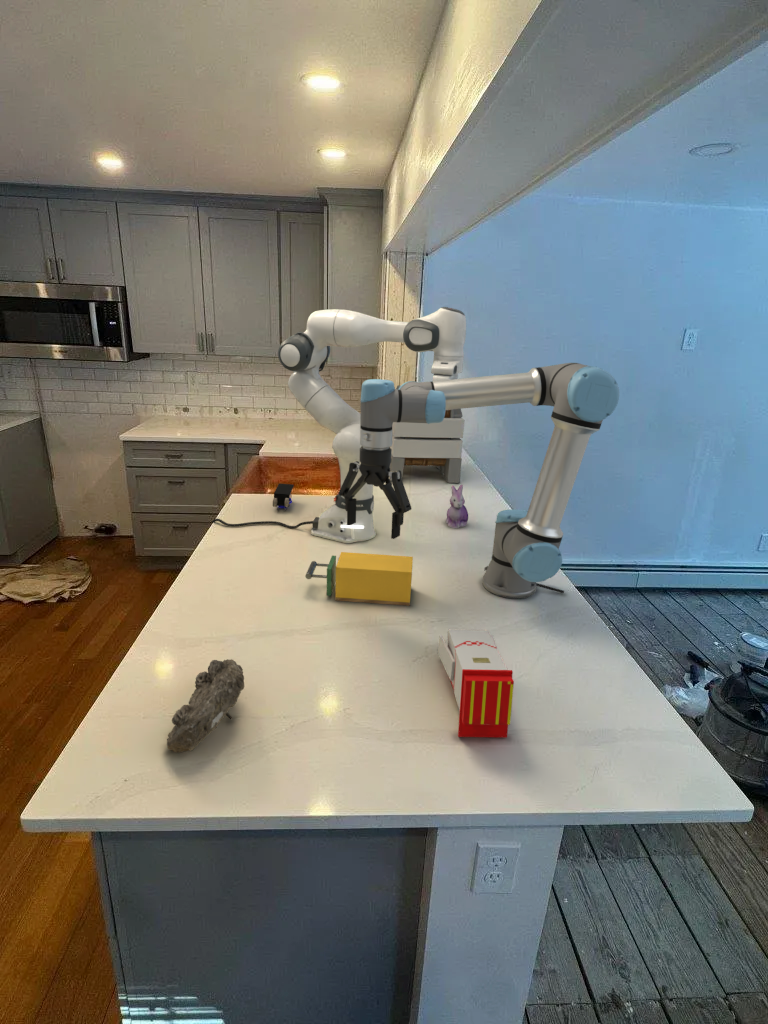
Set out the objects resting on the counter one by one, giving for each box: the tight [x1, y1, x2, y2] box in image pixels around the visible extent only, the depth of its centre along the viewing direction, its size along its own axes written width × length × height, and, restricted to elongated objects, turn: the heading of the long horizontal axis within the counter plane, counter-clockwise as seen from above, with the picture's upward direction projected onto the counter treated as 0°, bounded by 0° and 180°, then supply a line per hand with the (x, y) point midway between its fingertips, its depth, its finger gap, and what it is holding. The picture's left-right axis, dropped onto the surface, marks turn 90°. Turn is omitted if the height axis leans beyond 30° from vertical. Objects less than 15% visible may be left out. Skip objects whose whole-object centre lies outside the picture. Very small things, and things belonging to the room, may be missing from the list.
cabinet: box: [334, 551, 414, 607], centre depth 155 cm, size 20×10×10 cm, turn 86°
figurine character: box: [272, 483, 295, 512], centre depth 220 cm, size 7×8×15 cm
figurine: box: [445, 484, 469, 529], centre depth 209 cm, size 9×10×15 cm
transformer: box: [389, 384, 465, 484], centre depth 268 cm, size 34×33×41 cm
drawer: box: [304, 555, 337, 597], centre depth 156 cm, size 25×9×8 cm, turn 86°
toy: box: [437, 628, 515, 738], centre depth 117 cm, size 12×13×30 cm
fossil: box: [166, 658, 245, 754], centre depth 106 cm, size 22×10×15 cm
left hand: (443, 412), depth 172 cm, fingers open, 8 cm apart
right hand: (372, 530), depth 141 cm, fingers open, 13 cm apart
